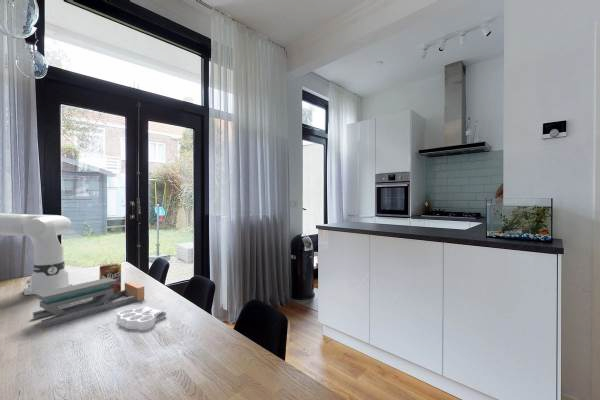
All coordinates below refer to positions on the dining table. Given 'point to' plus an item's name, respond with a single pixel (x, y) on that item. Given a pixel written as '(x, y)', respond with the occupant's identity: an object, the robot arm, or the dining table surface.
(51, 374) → the dining table surface
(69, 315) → the guide track
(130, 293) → the end stop
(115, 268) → the candy box
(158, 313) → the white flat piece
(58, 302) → the sharpening stone
